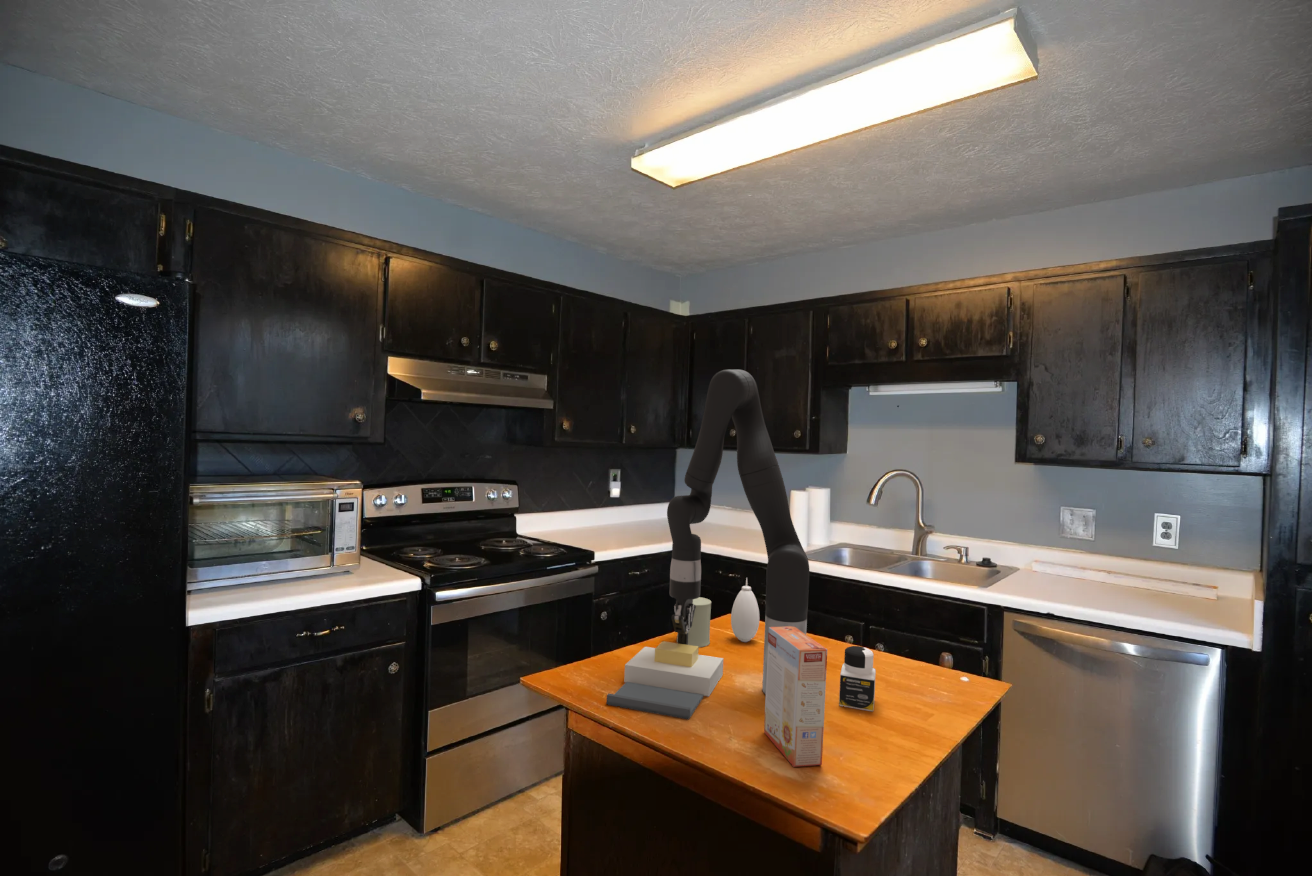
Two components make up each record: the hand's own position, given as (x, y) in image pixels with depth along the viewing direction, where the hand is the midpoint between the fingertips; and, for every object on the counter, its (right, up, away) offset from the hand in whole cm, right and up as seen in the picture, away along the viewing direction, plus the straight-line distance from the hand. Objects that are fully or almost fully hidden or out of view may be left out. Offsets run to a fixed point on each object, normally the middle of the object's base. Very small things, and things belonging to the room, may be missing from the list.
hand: (682, 647), depth 159 cm
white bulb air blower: (+18, -6, +25) cm, 31 cm away
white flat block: (-2, -5, -5) cm, 8 cm away
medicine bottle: (+38, -7, -16) cm, 41 cm away
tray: (-6, -5, -19) cm, 21 cm away
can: (+4, -6, +22) cm, 23 cm away
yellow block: (-2, 0, -5) cm, 5 cm away
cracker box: (+19, -7, -38) cm, 43 cm away
